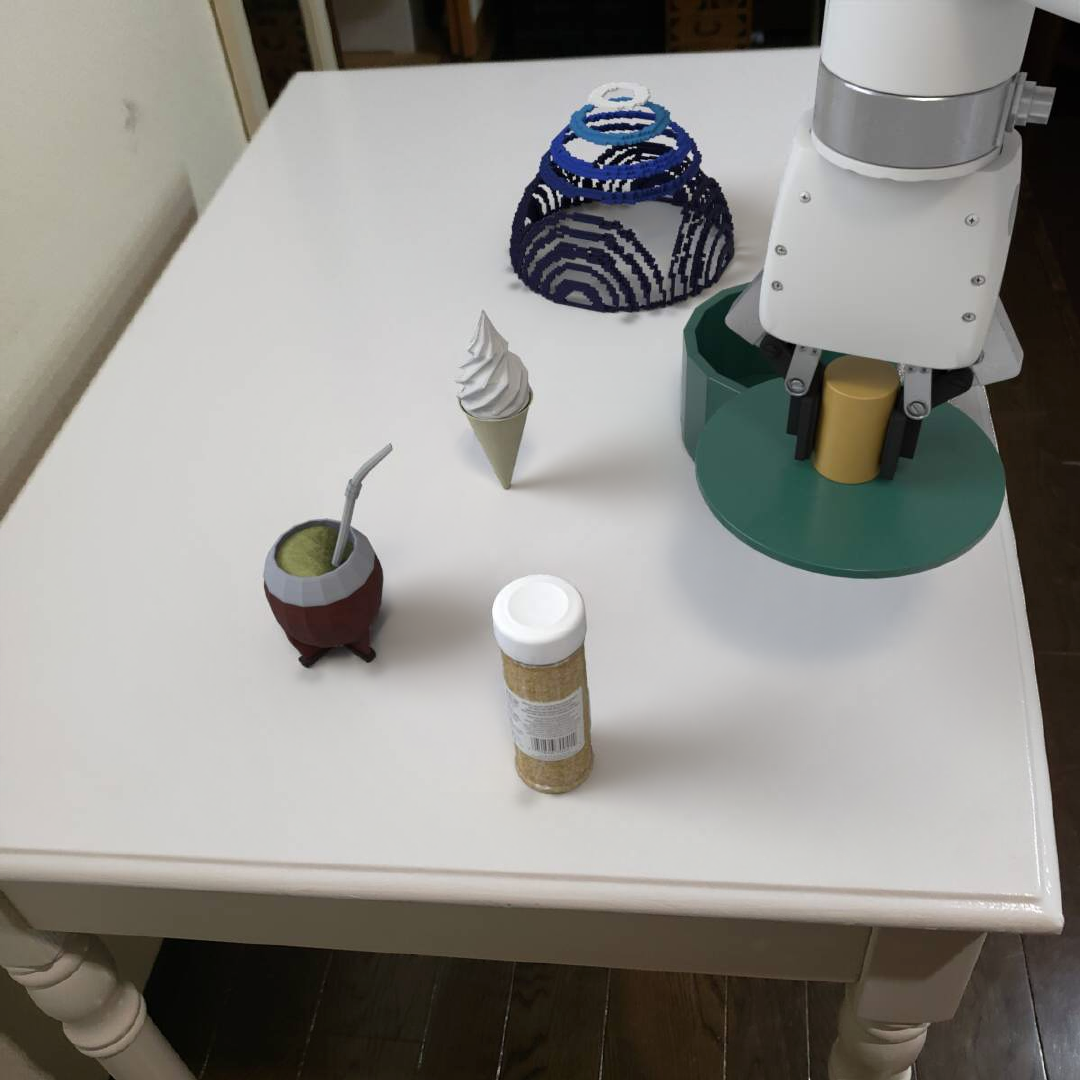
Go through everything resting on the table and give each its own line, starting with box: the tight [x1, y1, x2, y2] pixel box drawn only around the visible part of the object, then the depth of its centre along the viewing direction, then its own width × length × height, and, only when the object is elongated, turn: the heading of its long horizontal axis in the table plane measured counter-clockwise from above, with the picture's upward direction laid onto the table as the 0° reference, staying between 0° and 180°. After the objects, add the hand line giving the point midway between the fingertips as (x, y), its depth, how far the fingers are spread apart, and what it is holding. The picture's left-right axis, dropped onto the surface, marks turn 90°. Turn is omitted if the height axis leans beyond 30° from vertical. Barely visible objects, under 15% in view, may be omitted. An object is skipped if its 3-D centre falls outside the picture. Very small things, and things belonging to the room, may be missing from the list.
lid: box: [694, 355, 1007, 580], centre depth 56 cm, size 16×16×7 cm
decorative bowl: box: [508, 81, 736, 314], centre depth 97 cm, size 20×20×14 cm
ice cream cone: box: [453, 309, 534, 490], centre depth 75 cm, size 5×5×15 cm
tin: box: [680, 280, 902, 463], centre depth 79 cm, size 15×15×8 cm
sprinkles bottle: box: [491, 573, 595, 794], centre depth 59 cm, size 5×5×13 cm
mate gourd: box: [262, 442, 394, 669], centre depth 66 cm, size 8×8×15 cm
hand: (849, 450), depth 57 cm, fingers closed on lid, 3 cm apart
